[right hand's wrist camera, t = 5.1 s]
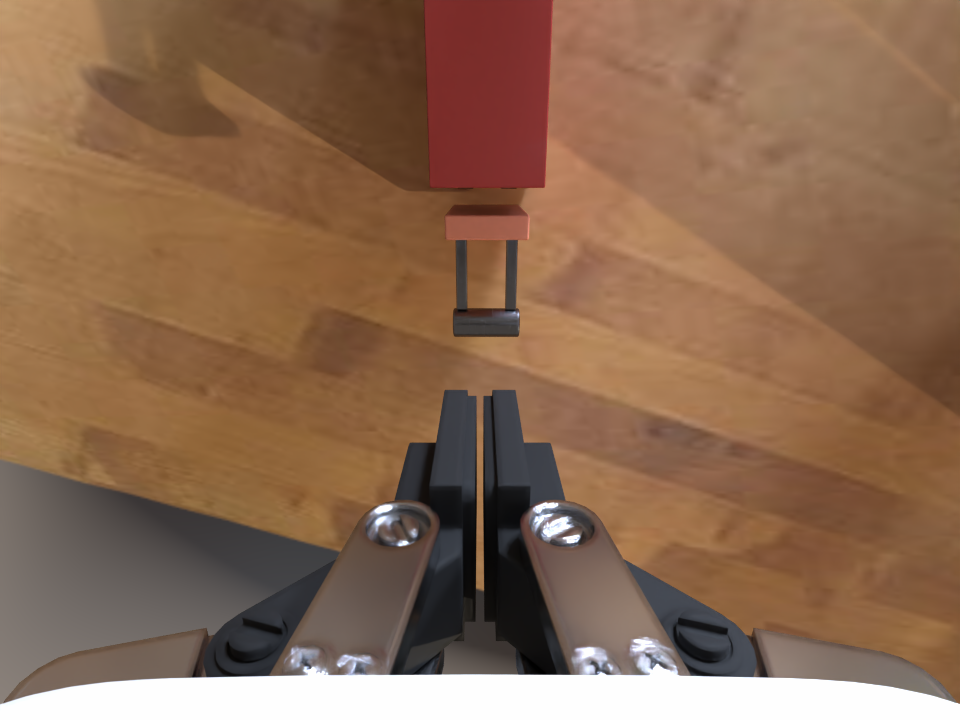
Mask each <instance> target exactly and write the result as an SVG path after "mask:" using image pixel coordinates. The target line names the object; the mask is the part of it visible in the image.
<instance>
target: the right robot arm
mask: <svg viewBox="0 0 960 720" xmlns="http://www.w3.org/2000/svg"><path fill="white" fill-rule="evenodd" d="M476 518H477V439H476V396H468V391H467V390H445V392H444V398H443V404H442V410H441V416H440V423H439V429H438V435H437V441H436V443H410V444H409V447H408V450H407V454H406V458H405V462H404V466H403V470H402V474H401V477H400V481H399V485H398V489H397V493H396V497H395V501H390V502H385V503H383V504H380V505H378V506H375V507H373V508H372V509H371V510H369V511H368V512H366V513H365V514H364V515H363V516H362V518H361V519H360V520H359V521H358V523H357V525H356V526H355V528H354V530H353V532H352V533H351V535H350V537H349V539H348V540H347V542H346V544H345V545H344V547H343V549H342V551H341V552H340V554H339V556H338V558H337V559H336V560H334V561H332V562H331V563H329V564H327V565H325V566H323V567H322V568H320V569H318V570H316V571H315V572H313V573H311V574H309V575H307V576H306V577H304V578H302V579H300V580H299V581H297V582H295V583H293V584H292V585H290V586H288V587H286V588H284V589H283V590H281V591H279V592H277V593H276V594H274V595H272V596H270V597H268V598H267V599H265V600H263V601H261V602H260V603H258V604H256V605H254V606H253V607H251V608H249V609H247V610H245V611H244V612H242V613H240V614H238V615H237V616H236V617H234V618H233V619H231V620H230V621H228V622H227V623H226V624H224V625H223V626H222V628H221V629H220V630H219V631H218V632H217V633H216V634H215V635H211V636H208V632H207V628H203V629H198V630H192V631H187V632H181V633H176V634H171V635H166V636H160V637H155V638H149V639H144V640H139V641H133V642H127V643H122V644H117V645H111V646H106V647H101V648H95V649H90V650H84V651H79V652H75V653H72V654H69V655H65V656H62V657H59V658H57V659H55V660H53V661H51V662H49V663H47V664H46V665H44V666H42V667H40V668H38V669H37V670H36V671H34V672H33V673H32V674H30V675H29V676H28V677H26V678H25V679H24V680H23V681H21V682H20V683H19V684H18V685H17V686H16V688H15V689H14V690H13V691H12V692H11V694H10V695H9V696H8V697H7V698H6V699H5V701H4V703H3V704H0V720H960V704H957V703H956V701H955V699H954V698H953V697H952V696H951V695H950V694H949V692H948V691H947V690H946V689H945V688H944V686H943V685H942V684H941V683H940V682H939V681H937V680H936V679H935V678H934V677H932V676H931V675H930V674H928V673H927V672H926V671H925V670H923V669H922V668H920V667H918V666H916V665H914V664H913V663H911V662H909V661H907V660H905V659H903V658H901V657H898V656H895V655H891V654H888V653H885V652H881V651H876V650H870V649H865V648H860V647H854V646H849V645H843V644H838V643H833V642H827V641H822V640H816V639H811V638H806V637H800V636H795V635H789V634H784V633H779V632H773V631H768V630H762V629H757V628H753V632H752V636H749V635H745V634H744V633H743V632H742V631H741V630H740V629H739V628H738V626H737V625H736V624H734V623H733V622H732V621H730V620H729V619H727V618H726V617H724V616H723V615H722V614H720V613H718V612H716V611H715V610H713V609H711V608H709V607H708V606H706V605H704V604H702V603H700V602H699V601H697V600H695V599H693V598H692V597H690V596H688V595H686V594H684V593H683V592H681V591H679V590H677V589H676V588H674V587H672V586H670V585H668V584H667V583H665V582H663V581H661V580H660V579H658V578H656V577H654V576H653V575H651V574H649V573H647V572H645V571H644V570H642V569H640V568H638V567H637V566H635V565H633V564H631V563H629V562H628V561H626V560H624V559H623V558H622V556H621V554H620V552H619V551H618V549H617V547H616V545H615V544H614V542H613V540H612V539H611V537H610V535H609V533H608V532H607V530H606V528H605V526H604V525H603V523H602V521H601V520H600V519H599V518H598V516H597V515H596V514H595V513H594V512H592V511H591V510H589V509H588V508H587V507H585V506H582V505H580V504H577V503H575V502H570V501H565V497H564V493H563V489H562V485H561V481H560V477H559V474H558V470H557V466H556V462H555V458H554V454H553V450H552V447H551V444H550V443H524V441H523V435H522V429H521V423H520V416H519V410H518V404H517V398H516V392H515V390H493V391H492V396H484V438H483V518H484V616H485V622H495V625H496V641H508V642H509V643H510V644H511V645H512V646H514V647H515V648H516V666H517V671H518V675H442V671H443V666H444V648H445V647H446V646H448V645H449V644H450V643H451V642H452V641H464V626H465V622H475V615H476Z"/></svg>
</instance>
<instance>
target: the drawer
mask: <svg viewBox="0 0 960 720" xmlns="http://www.w3.org/2000/svg"><path fill="white" fill-rule="evenodd" d="M458 189H473V188H458ZM502 189H516V188H502ZM445 239H446V240H456V291H457V308H455V309H454V311H453V334H454V336H455V337H518V336H519V328H520V315H519V309H518V308H516V286H517V246H518V240H528V239H529V215H528V214H527V213H526V212H525V211H524V210H523V209H522V208H521V207H520V206H519V205H454V206H453V207H452V208H451V209H450V211H449V212H448V213H447V214H446V215H445ZM467 240H506V288H505V308H467Z"/></svg>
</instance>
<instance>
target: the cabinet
mask: <svg viewBox="0 0 960 720" xmlns="http://www.w3.org/2000/svg"><path fill="white" fill-rule="evenodd" d="M552 10H553V0H424V24H425V55H426V86H427V117H428V148H429V179H430V187H431V188H544V187H545V176H546V152H547V128H548V105H549V81H550V57H551V34H552Z"/></svg>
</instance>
